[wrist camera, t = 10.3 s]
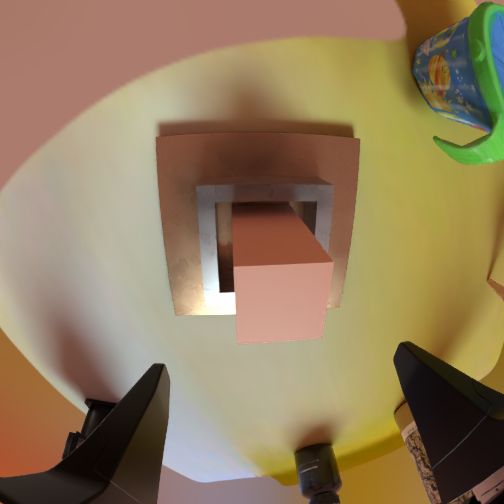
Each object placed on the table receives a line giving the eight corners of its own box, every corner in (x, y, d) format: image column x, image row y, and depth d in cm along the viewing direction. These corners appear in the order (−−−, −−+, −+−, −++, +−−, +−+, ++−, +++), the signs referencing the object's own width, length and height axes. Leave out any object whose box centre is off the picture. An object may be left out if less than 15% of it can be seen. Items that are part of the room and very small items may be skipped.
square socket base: (177, 308, 23) (169, 338, 19) (159, 136, 17) (142, 138, 14) (336, 300, 24) (351, 328, 20) (354, 138, 18) (380, 141, 15)
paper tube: (386, 415, 35) (434, 536, 12) (418, 389, 33) (479, 511, 10) (403, 419, 37) (449, 524, 14) (432, 396, 35) (487, 501, 12)
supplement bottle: (303, 443, 36) (316, 506, 25) (338, 441, 37) (355, 498, 26) (287, 459, 38) (297, 515, 27) (321, 457, 40) (334, 509, 29)
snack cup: (439, 179, 20) (524, 216, 11) (359, 97, 17) (452, 84, 8) (490, 74, 15) (562, 77, 6) (427, -3, 12) (497, -29, 3)
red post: (233, 259, 20) (237, 344, 12) (231, 206, 19) (233, 266, 11) (287, 257, 21) (321, 337, 12) (289, 204, 19) (334, 262, 11)
